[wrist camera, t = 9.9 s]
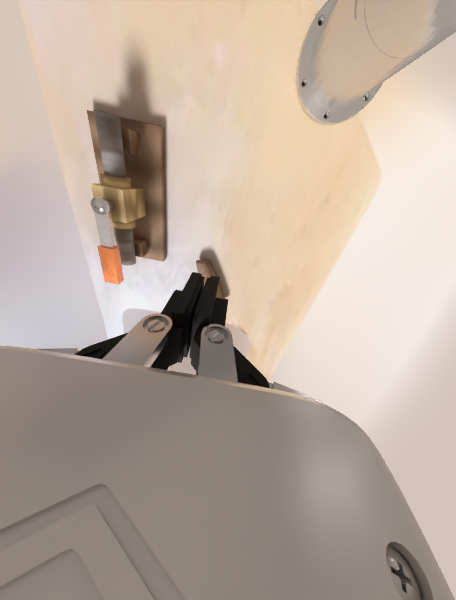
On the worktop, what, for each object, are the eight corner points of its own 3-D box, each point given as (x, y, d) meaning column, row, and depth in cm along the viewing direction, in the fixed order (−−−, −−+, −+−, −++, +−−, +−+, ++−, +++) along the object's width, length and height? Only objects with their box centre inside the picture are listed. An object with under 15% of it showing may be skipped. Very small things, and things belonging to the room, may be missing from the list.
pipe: (210, 260, 40) (167, 274, 40) (231, 319, 48) (194, 329, 49) (210, 252, 45) (172, 264, 46) (228, 306, 54) (196, 315, 54)
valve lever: (112, 198, 29) (105, 200, 28) (123, 280, 37) (118, 284, 36) (95, 195, 29) (87, 196, 27) (110, 277, 37) (104, 281, 36)
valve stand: (93, 112, 31) (34, 87, 22) (163, 128, 32) (132, 109, 23) (116, 249, 45) (85, 267, 36) (165, 259, 45) (146, 278, 36)
